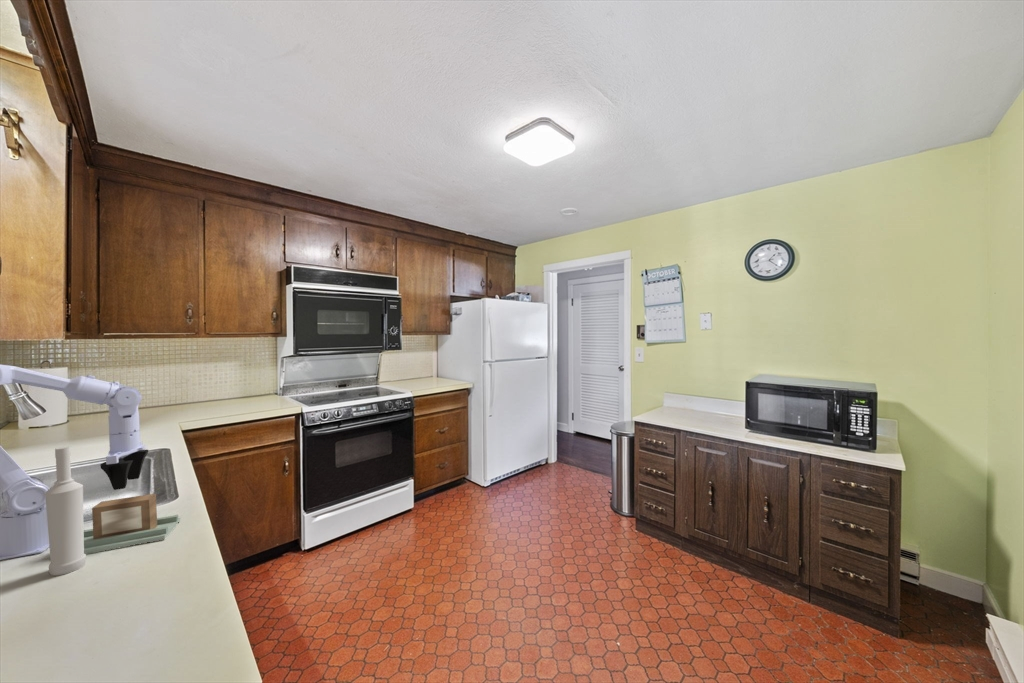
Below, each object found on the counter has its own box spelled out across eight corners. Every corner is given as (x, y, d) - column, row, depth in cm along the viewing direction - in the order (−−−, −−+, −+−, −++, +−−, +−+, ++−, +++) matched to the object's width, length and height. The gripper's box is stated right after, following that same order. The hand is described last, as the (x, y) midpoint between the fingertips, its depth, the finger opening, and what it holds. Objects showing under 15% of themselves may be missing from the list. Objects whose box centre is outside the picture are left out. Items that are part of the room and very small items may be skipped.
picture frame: (93, 543, 90) (91, 508, 90) (102, 535, 94) (101, 501, 93) (150, 533, 94) (148, 499, 94) (157, 525, 98) (155, 493, 98)
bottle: (61, 577, 79) (55, 451, 78) (41, 575, 80) (35, 451, 79) (93, 562, 84) (88, 444, 83) (74, 560, 85) (69, 443, 84)
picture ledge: (58, 559, 85) (58, 549, 85) (85, 537, 95) (84, 528, 94) (164, 539, 93) (164, 530, 93) (180, 521, 102) (179, 513, 102)
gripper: (131, 436, 98) (134, 490, 99) (155, 424, 112) (157, 472, 112) (93, 439, 96) (96, 495, 96) (122, 427, 109) (125, 476, 109)
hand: (126, 483), depth 104 cm, fingers open, 7 cm apart
